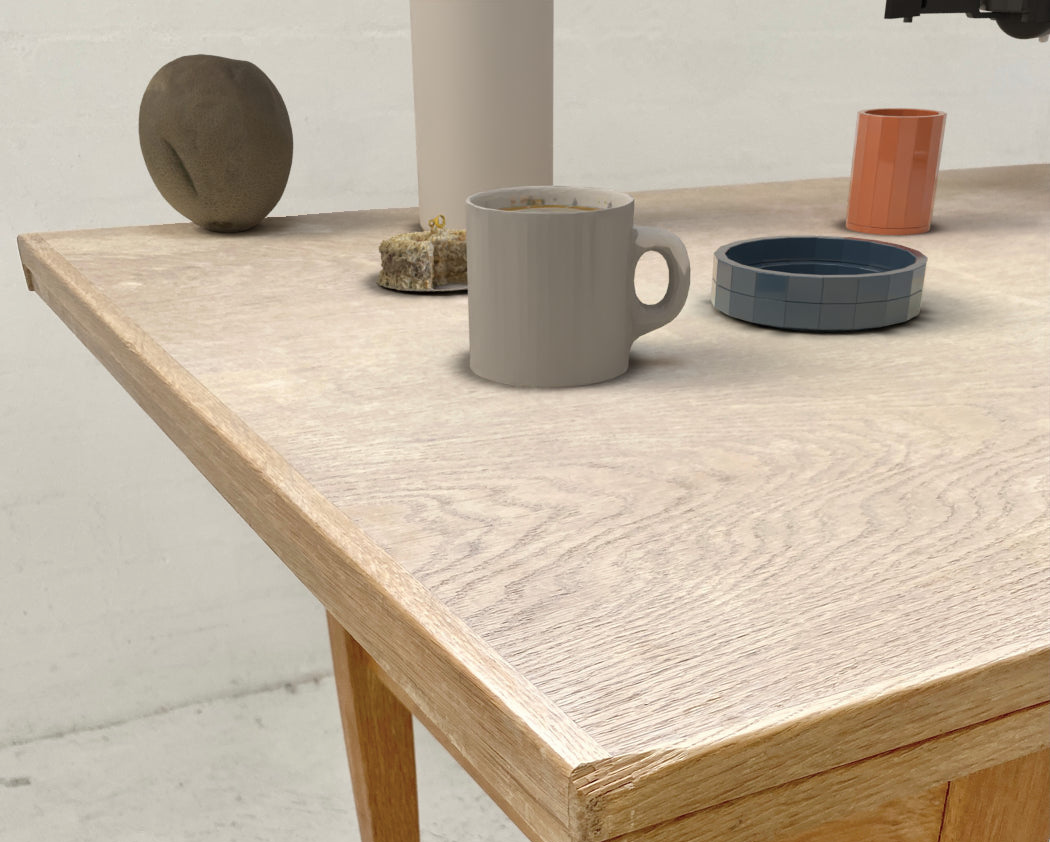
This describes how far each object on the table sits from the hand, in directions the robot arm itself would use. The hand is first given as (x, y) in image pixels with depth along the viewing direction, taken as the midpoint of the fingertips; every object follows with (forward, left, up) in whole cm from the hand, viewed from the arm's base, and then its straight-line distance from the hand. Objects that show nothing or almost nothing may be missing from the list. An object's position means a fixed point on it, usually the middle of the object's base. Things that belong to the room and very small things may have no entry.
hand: (959, 3), depth 117 cm
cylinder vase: (+8, +43, -18) cm, 47 cm away
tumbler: (-5, +8, -18) cm, 21 cm away
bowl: (-31, +30, -18) cm, 47 cm away
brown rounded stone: (+17, +66, -18) cm, 71 cm away
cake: (-13, +53, -18) cm, 58 cm away
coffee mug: (-39, +51, -18) cm, 67 cm away
